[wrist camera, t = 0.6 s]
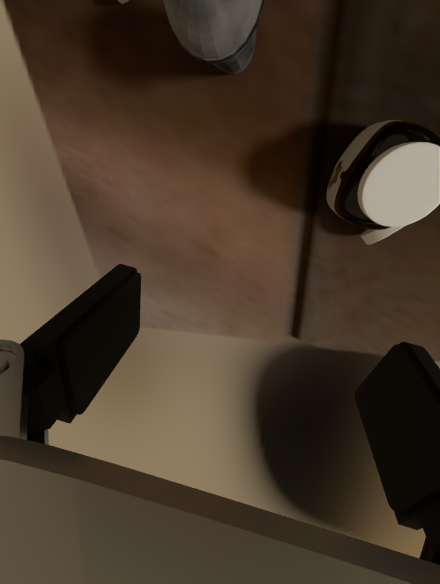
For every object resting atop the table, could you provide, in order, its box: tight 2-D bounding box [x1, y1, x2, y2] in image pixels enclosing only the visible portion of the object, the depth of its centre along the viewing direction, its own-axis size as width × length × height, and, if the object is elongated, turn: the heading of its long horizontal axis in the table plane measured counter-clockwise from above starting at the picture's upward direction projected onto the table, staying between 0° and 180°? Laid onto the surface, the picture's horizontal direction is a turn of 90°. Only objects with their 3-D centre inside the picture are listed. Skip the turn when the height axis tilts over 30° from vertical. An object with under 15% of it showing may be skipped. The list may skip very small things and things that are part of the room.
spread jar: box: [326, 120, 440, 245], centre depth 27 cm, size 12×11×12 cm
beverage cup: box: [163, 0, 264, 74], centre depth 19 cm, size 7×7×20 cm
